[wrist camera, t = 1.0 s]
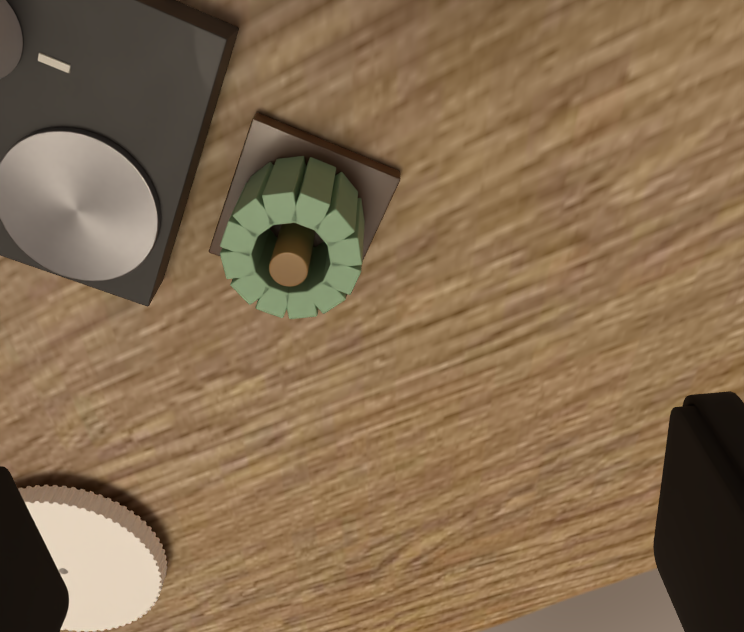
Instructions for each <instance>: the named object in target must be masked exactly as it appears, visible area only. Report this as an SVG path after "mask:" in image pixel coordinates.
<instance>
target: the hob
mask: <svg viewBox="0 0 744 632" xmlns="http://www.w3.org/2000/svg"><path fill="white" fill-rule="evenodd" d="M6 1H7V2H8V4H9V5H10V7H11V8H12V9H13V11H14V13H15V15H16V17H17V19H18V21H19V24H20V27H21V31H22V37H23V48H22V54H21V58H20V60H19V62H18V64H17V66H16V67H15V68H14V70H13V71H12V72H11V73H9V74H8V75H7V76H5V77H3V78H1V79H0V162H1V160H2V159H3V157H4V156H5V154H6V153H7V152H8V151H9V150H10V148H11V147H12V146H14V145H15V144H16V143H18V142H19V141H20V140H22V139H23V138H25V137H27V136H28V135H30V134H32V133H35V132H37V131H40V130H44V129H49V128H58V127H67V128H77V129H82V130H86V131H89V132H92V133H95V134H98V135H100V136H102V137H105V138H107V139H109V140H110V141H112V142H114V143H115V144H117V145H119V146H120V147H121V148H123V149H124V150H125V151H127V152H128V153H129V154H130V155H131V156H132V157H133V158H134V159H135V160H136V161H137V162H138V163H139V164H140V166H141V167H142V168H143V169H144V171H145V172H146V174H147V175H148V177H149V178H150V180H151V182H152V184H153V186H154V188H155V191H156V193H157V196H158V200H159V204H160V210H161V227H160V232H159V236H158V239H157V241H156V244H155V246H154V247H153V249H152V251H151V252H150V254H149V255H148V257H147V258H146V259H145V260H144V262H143V263H141V264H140V265H139V266H138V267H137V268H136V269H134V270H132V271H131V272H129V273H127V274H125V275H123V276H121V277H117V278H114V279H110V280H104V281H84V280H78V279H73V278H69V277H66V276H62V275H60V274H58V273H55V272H53V271H51V270H49V269H47V268H45V267H43V266H42V265H40V264H39V263H37V262H36V261H34V260H33V259H32V258H30V257H29V256H28V255H27V254H26V253H25V252H24V251H23V250H21V249H20V248H19V247H18V245H17V244H16V243H15V242H14V241H13V239H12V238H11V237H10V235H9V234H8V232H7V231H6V229H5V227H4V225H3V223H2V221H1V219H0V255H1V256H4V257H7V258H9V259H12V260H15V261H18V262H21V263H24V264H27V265H30V266H33V267H35V268H38V269H41V270H44V271H47V272H50V273H53V274H56V275H59V276H61V277H64V278H67V279H70V280H73V281H76V282H79V283H82V284H84V285H87V286H90V287H93V288H96V289H99V290H102V291H105V292H108V293H110V294H113V295H116V296H119V297H122V298H125V299H128V300H131V301H134V302H136V303H139V304H142V305H145V306H149V304H150V303H151V301H152V299H153V297H154V296H155V294H156V292H157V290H158V288H159V287H160V285H161V283H162V281H163V279H164V275H165V272H166V269H167V265H168V262H169V259H170V255H171V252H172V249H173V245H174V242H175V239H176V236H177V232H178V229H179V226H180V222H181V219H182V216H183V212H184V209H185V206H186V202H187V199H188V196H189V192H190V189H191V186H192V182H193V179H194V176H195V173H196V169H197V166H198V163H199V159H200V156H201V153H202V149H203V146H204V143H205V139H206V136H207V133H208V129H209V126H210V123H211V120H212V116H213V113H214V110H215V106H216V103H217V100H218V96H219V93H220V90H221V86H222V83H223V80H224V76H225V73H226V70H227V67H228V63H229V60H230V57H231V53H232V50H233V47H234V43H235V40H236V37H237V33H238V30H239V28H238V27H236V26H233V25H231V24H229V23H226V22H224V21H222V20H220V19H217V18H215V17H213V16H210V15H208V14H206V13H203V12H201V11H199V10H197V9H194V8H192V7H190V6H187V5H185V4H183V3H180V2H178V1H176V0H6Z"/></svg>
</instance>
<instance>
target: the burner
mask: <svg viewBox="0 0 744 632" xmlns="http://www.w3.org/2000/svg"><path fill="white" fill-rule="evenodd" d="M0 219H1V221H2V223H3V225H4V227H5V229H6V231H7V232H8V234H9V235H10V237H11V238H12V239H13V241H14V242H15V243H16V244H17V245H18V247H19V248H20V249H21V250H23V251H24V252H25V253H26V254H27V255H28V256H29V257H30V258H32V259H33V260H34V261H36V262H37V263H39V264H40V265H42V266H43V267H45V268H47V269H49V270H51V271H53V272H55V273H58V274H60V275H62V276H66V277H69V278H73V279H78V280H84V281H104V280H110V279H114V278H117V277H121V276H123V275H125V274H127V273H129V272H131V271H132V270H134V269H136V268H137V267H138V266H139V265H140V264H141V263H143V262H144V260H145V259H146V258H147V257H148V255H149V254H150V252H151V251H152V249H153V247H154V246H155V244H156V241H157V239H158V236H159V232H160V227H161V210H160V204H159V200H158V196H157V193H156V191H155V188H154V186H153V184H152V182H151V180H150V178H149V177H148V175H147V174H146V172H145V171H144V169H143V168H142V167H141V166H140V164H139V163H138V162H137V161H136V160H135V159H134V158H133V157H132V156H131V155H130V154H129V153H128V152H127V151H125V150H124V149H123V148H121V147H120V146H119V145H117V144H115V143H114V142H112V141H110V140H109V139H107V138H105V137H102V136H100V135H98V134H95V133H92V132H89V131H86V130H82V129H77V128H67V127H58V128H49V129H44V130H40V131H37V132H35V133H32V134H30V135H28V136H27V137H25V138H23V139H22V140H20V141H19V142H18V143H16V144H15V145H14V146H12V147H11V148H10V150H9V151H8V152H7V153H6V154H5V156H4V157H3V159H2V160H1V162H0Z"/></svg>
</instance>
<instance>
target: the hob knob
mask: <svg viewBox="0 0 744 632" xmlns="http://www.w3.org/2000/svg"><path fill="white" fill-rule="evenodd" d="M22 48H23V37H22V31H21V27H20V24H19V21H18V19H17V17H16V15H15V13H14V11H13V9H12V8H11V7H10V5H9V4H8V2H7V1H6V0H0V79H1V78H3V77H5V76H7V75H8V74H9V73H11V72H12V71H13V70H14V68H15V67H16V66H17V64H18V62H19V60H20V58H21V54H22Z"/></svg>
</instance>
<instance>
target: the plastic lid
mask: <svg viewBox="0 0 744 632" xmlns="http://www.w3.org/2000/svg"><path fill="white" fill-rule="evenodd" d="M18 490H19V492H20V494H21V496H22V498H23V500H24V502H25V504H26V506H27V508H28V510H29V512H30V514H31V516H32V518H33V520H34V522H35V524H36V526H37V528H38V530H39V532H40V534H41V536H42V538H43V540H44V542H45V544H46V546H47V548H48V550H49V552H50V554H51V557H52V559H53V561H54V563H55V565H56V567H57V569H58V571H59V573H60V575H61V577H62V579H63V581H64V583H65V585H66V587H67V590H68V593H69V607H68V612H67V615H66V618H65V620H64V622H63V625H62V627H61V629H60V630H64V629H67V630H68V631H72V630H76V631H77V632H80V631H81V630H82V631H85V632H88V631H89V630H92V631H93V632H95V631H97V630H100V631H104V629H108V630H110V629H112V628H113V627H114V628H118V627H119V626H125V624H126V623H128V624H130V623H131V622H132V621H136V620H137V619H138V617H139V618H141V617H142V616H143V614H146V613H147V612H148V610H151V608H152V606H154V605H155V602H156V601H157V600H158V597H159V595H160V592H161V589H162V586H163V582H164V579H165V576H166V570H167V566H166V565H167V561H166V555H164V553H165V550H164V549H162V547H163V545H162V543H159V541H160V539H159V538H158V537H156V533H155V532H152V531H151V529H152V528H151V527H150V526H147V525H146V522H145V521H142V520H141V519H140V518H141V517H140V516H138V515H137V516H136V515H134V512H133V511H132V510H131V511H129V510H127V507H125V506H121V505H119V503H118V502H113V501H111V499H110V498H104V497H103V495H100V494H99V495H96V494H94V492H91V491H90V492H86V491H85V490H84V489H80V490H77V489H76V488H75V487H71V488H67V486H62V487H58V486H57V485H53V486H48V485H44V486H43V487H40V486H39V485H35V487H31V486H27V487H26V488H25V489H23V488H22V487H21V488H18Z"/></svg>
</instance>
